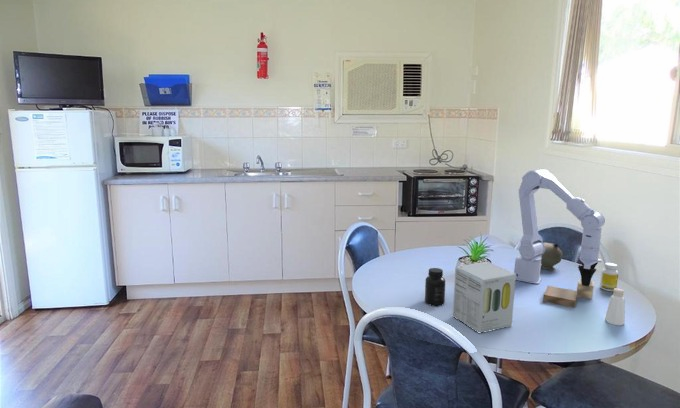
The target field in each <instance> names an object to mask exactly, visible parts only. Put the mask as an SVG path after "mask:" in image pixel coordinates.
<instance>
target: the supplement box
mask: <svg viewBox="0 0 680 408" xmlns="http://www.w3.org/2000/svg"><path fill="white" fill-rule="evenodd" d="M515 279H516V274H515V273H514V271H510V270H508V269H506V268H503V267H501V266H499V265H496V264H494V263H492V262H489V261H483V262H477V263H470V264H464V265H458V266H455V272H454V284H453V285H454V287H453V304H452V317H453V316H454V317H456V318H457V319H459V320H460V321H462V322H464V323H465V324H467V325H468V326H470V327H471V328H473V329H474V330H476V331H478V332H484V331H489V330H493V329H498V330H500V329H499V328H502V329H504V327H506V328H510V327H512V324H513V313H514V300H515V291H516V290H515V289H516V288H515V287H516V280H515ZM454 317H453V318H454ZM457 319H456V320H457ZM459 320H458V321H459ZM460 321H459V322H460ZM462 322H461V323H462ZM465 324H464V325H465ZM468 326H467V327H468ZM509 326H510V327H509ZM471 328H470V329H471ZM474 330H473V331H474ZM493 331H494V330H493ZM489 332H490V331H489Z"/></svg>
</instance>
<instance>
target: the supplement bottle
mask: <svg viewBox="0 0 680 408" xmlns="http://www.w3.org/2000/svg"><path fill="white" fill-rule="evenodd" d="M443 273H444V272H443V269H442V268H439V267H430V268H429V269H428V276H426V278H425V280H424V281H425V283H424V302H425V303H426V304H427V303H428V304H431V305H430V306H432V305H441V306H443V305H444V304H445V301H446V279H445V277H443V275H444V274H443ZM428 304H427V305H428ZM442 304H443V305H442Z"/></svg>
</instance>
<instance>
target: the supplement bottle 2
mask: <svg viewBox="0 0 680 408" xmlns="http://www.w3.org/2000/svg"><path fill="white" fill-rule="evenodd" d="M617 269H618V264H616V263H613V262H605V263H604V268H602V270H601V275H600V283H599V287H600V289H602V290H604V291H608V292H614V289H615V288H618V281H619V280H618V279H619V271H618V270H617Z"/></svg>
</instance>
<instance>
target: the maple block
mask: <svg viewBox="0 0 680 408" xmlns="http://www.w3.org/2000/svg"><path fill="white" fill-rule="evenodd" d="M594 288H595V281H592V280H591V281H590V284H589V286H583V285H582V281H581V278H579V279H578V281H577V287H576V291H578V296H577V298H584V299H588V300H592V299H593V294H594Z"/></svg>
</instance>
